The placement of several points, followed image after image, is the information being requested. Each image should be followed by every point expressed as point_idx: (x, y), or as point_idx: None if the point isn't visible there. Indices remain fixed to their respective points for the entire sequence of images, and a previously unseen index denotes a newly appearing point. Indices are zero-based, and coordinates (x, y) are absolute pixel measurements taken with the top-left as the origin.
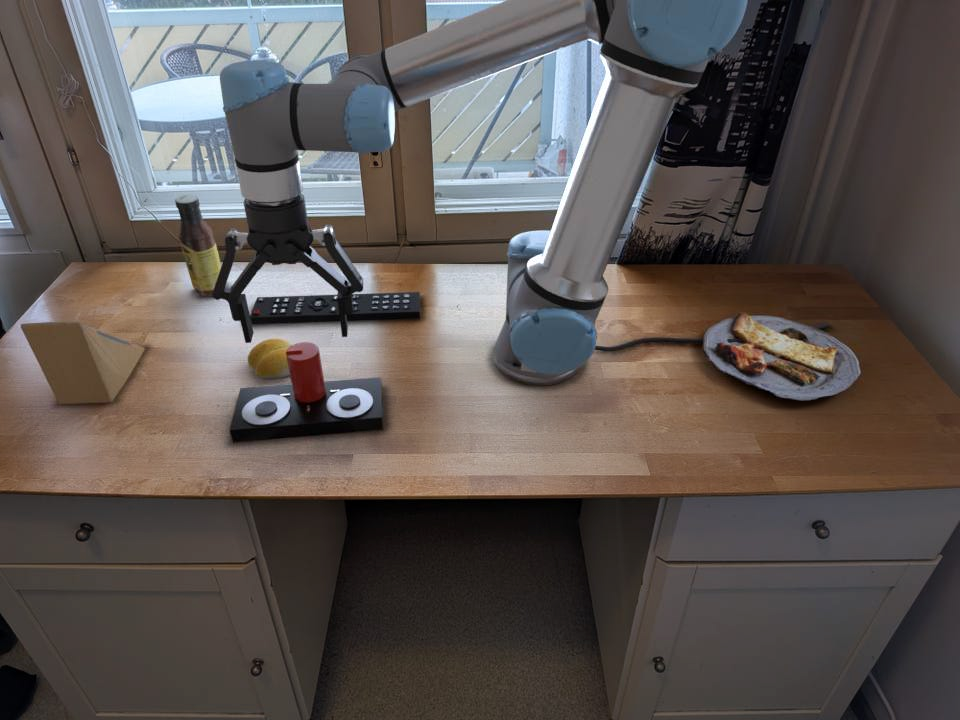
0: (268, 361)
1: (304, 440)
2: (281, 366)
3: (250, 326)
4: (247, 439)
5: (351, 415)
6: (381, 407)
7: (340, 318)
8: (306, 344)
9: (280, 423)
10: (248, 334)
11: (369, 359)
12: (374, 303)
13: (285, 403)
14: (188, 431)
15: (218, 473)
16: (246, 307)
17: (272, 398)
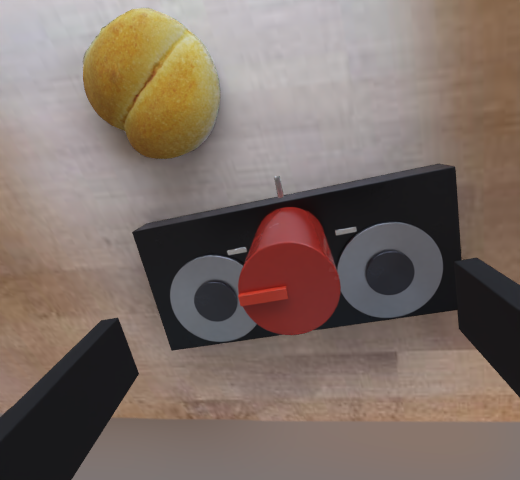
0: (152, 140)
1: None
2: (188, 142)
3: (105, 366)
4: None
5: (399, 312)
6: None
7: (516, 388)
8: (291, 255)
9: (257, 332)
10: (121, 399)
11: (393, 32)
12: None
13: None
14: (94, 309)
15: (190, 392)
16: (45, 434)
17: (216, 268)
